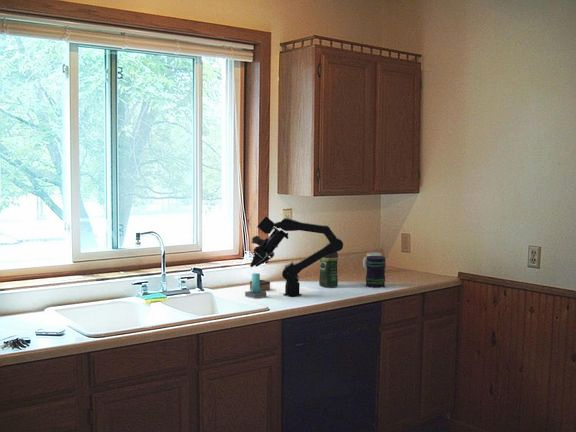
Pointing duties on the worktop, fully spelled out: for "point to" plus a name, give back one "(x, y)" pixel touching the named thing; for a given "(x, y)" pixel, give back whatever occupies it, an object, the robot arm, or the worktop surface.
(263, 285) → the upper stand
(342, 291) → the worktop surface
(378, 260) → the storage jar
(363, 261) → the mug
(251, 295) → the lower dock
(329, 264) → the coffee jar
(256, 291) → the dowel plug
